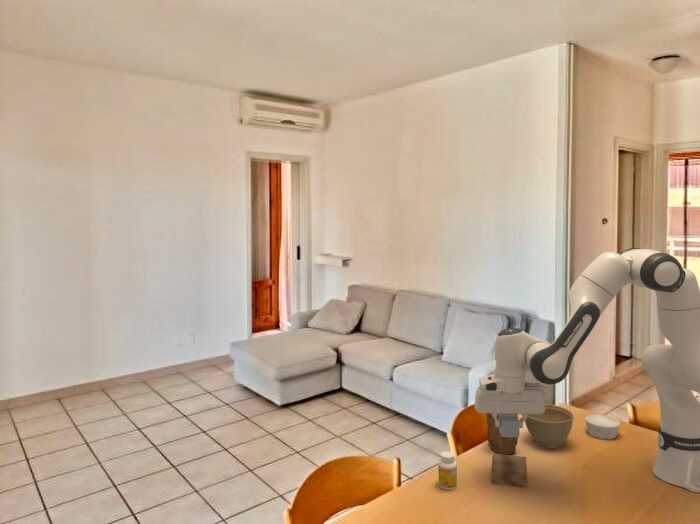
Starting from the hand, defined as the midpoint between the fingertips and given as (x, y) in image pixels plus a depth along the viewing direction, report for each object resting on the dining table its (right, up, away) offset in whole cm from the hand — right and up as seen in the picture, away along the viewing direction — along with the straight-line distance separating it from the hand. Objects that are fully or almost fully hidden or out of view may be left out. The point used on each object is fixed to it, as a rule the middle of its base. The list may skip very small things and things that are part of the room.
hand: (509, 426), depth 155 cm
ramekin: (+43, -13, +30) cm, 54 cm away
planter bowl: (+21, -14, +24) cm, 35 cm away
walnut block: (+1, -16, +2) cm, 16 cm away
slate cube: (0, -2, 0) cm, 2 cm away
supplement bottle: (-19, -17, -2) cm, 26 cm away
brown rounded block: (+4, -14, +20) cm, 25 cm away
